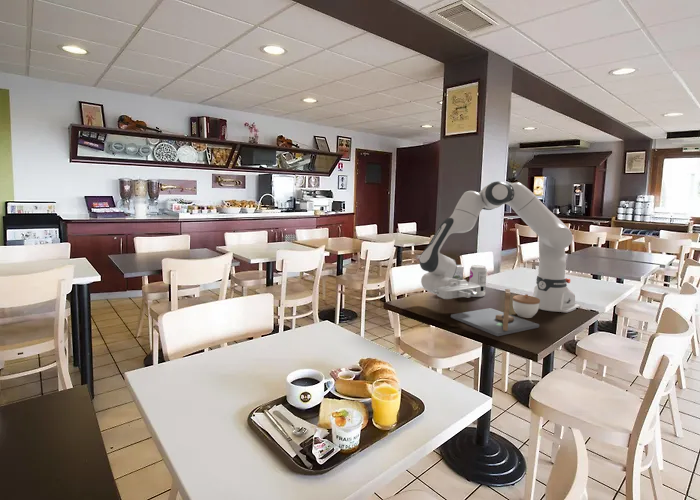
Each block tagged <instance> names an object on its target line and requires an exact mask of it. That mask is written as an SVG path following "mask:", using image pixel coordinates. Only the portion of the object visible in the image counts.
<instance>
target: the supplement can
mask: <svg viewBox="0 0 700 500" xmlns="http://www.w3.org/2000/svg"><path fill="white" fill-rule="evenodd" d="M487 273H488V271H487V267H486V266H485V265H479V264H477V265H475V264H474V265H473V264H472V265H471V266H470V268H469V280H468V282H471V283H475V284H477V285H480V287H481V292H480V294H477V296H475V297H477V298H482V297H484V296H485V295H486V288H487V287H486V286H487ZM475 297H474V298H475Z"/></svg>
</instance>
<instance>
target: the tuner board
mask: <svg viewBox="0 0 700 500" xmlns="http://www.w3.org/2000/svg"><path fill="white" fill-rule="evenodd" d="M496 315H502V317H503V316H504V311H501V310H498V309H495V308H491V307H489V308H482V309H475V310H470V311H465V312H464V311H463V312H459V313H452V314H450V318H451V319H454V320H456V321H459V322H460V323H464V324H466V325H469V326H471V327H473V328H476V329H478V330H481V331H483V332H486V333H488V334H491V335H494V336H496V337H500V336H505V335H510V334H515V333H519V332H524V331H528V330H534V329H539V328H540V324H539V323H535V322H534V321H530V320H527V319H525V318H523V317H520V316H515V315H513V314H510V313H509V316H512V317H514V321H512V322H508V331H504V330H503V321H500V320H497V319H496Z"/></svg>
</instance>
